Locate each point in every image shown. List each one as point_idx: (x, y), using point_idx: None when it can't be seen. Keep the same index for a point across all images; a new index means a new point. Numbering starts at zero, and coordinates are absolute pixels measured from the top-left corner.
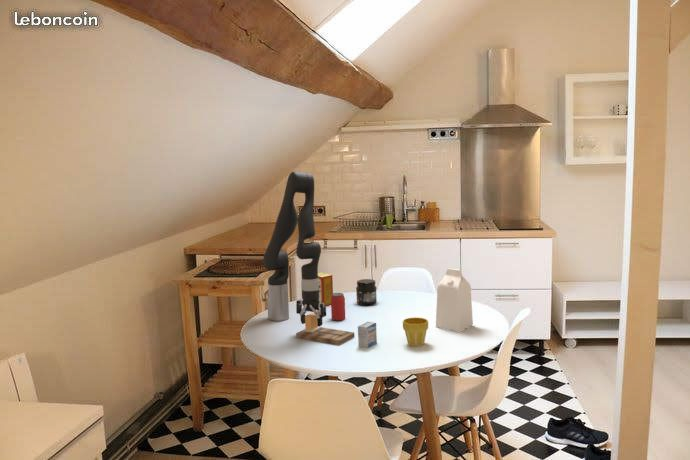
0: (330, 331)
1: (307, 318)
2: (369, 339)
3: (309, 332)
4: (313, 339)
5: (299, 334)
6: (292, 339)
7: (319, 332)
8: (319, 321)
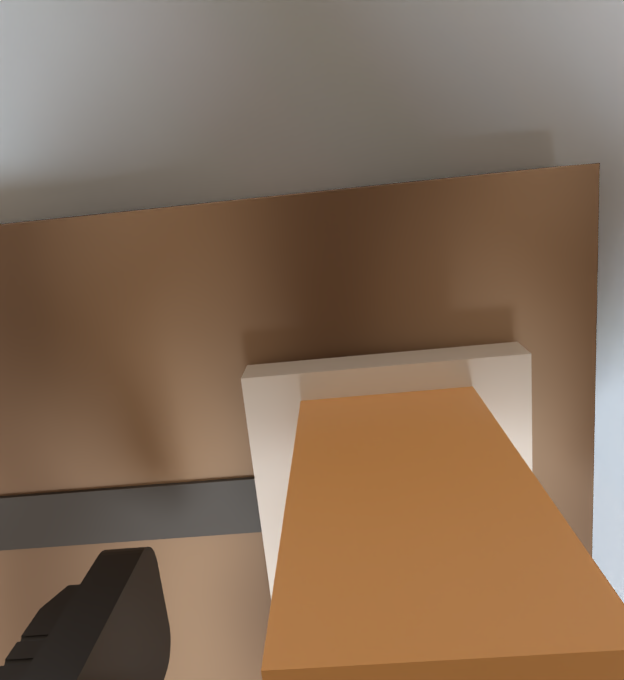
0: None
1: (461, 581)
2: None
3: None
4: (118, 212)
5: (491, 174)
6: (560, 23)
7: (164, 479)
8: (38, 672)
